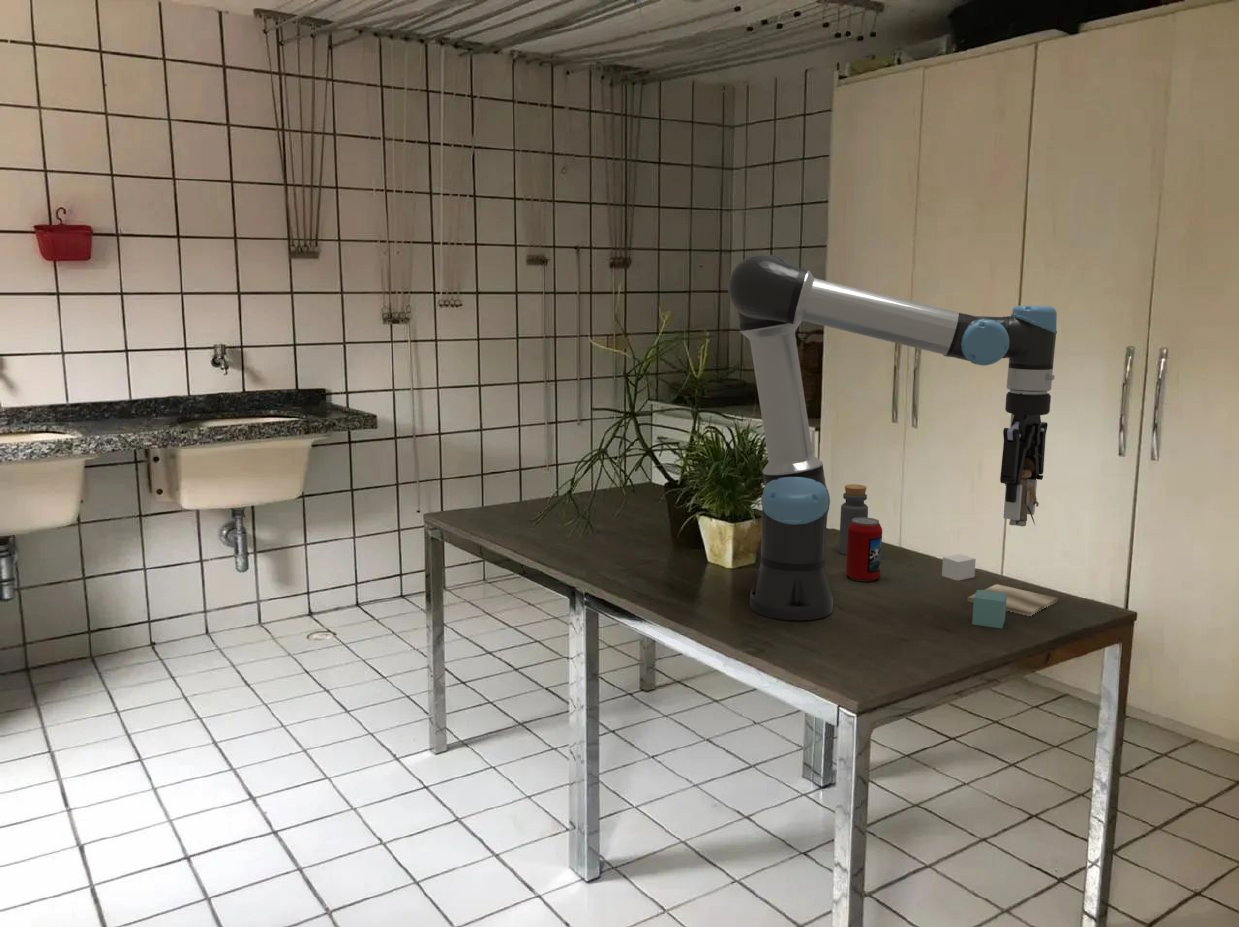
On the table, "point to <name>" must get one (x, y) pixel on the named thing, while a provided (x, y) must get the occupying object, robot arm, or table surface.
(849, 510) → the bottle
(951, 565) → the white block
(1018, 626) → the table surface
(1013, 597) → the board
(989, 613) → the teal block
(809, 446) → the robot arm
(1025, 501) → the toy
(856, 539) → the beverage can
